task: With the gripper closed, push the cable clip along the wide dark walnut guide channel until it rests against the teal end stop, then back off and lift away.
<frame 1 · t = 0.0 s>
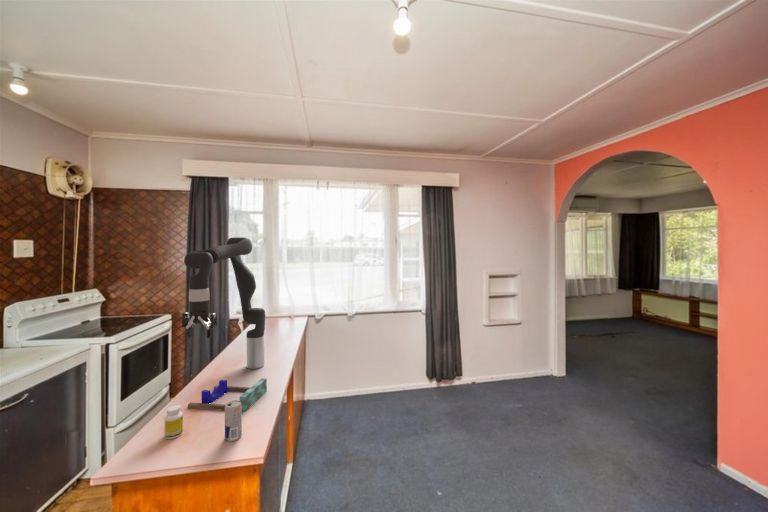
hand: (199, 337, 129), 29 cm above the kitchen counter, tool pointing down, fingers open, 8 cm apart
energy drink: (233, 438, 108), on the kitchen counter
supplement bottle: (173, 435, 109), on the kitchen counter
guide channel: (227, 399, 136), on the kitchen counter
cable clip: (213, 399, 137), on the kitchen counter
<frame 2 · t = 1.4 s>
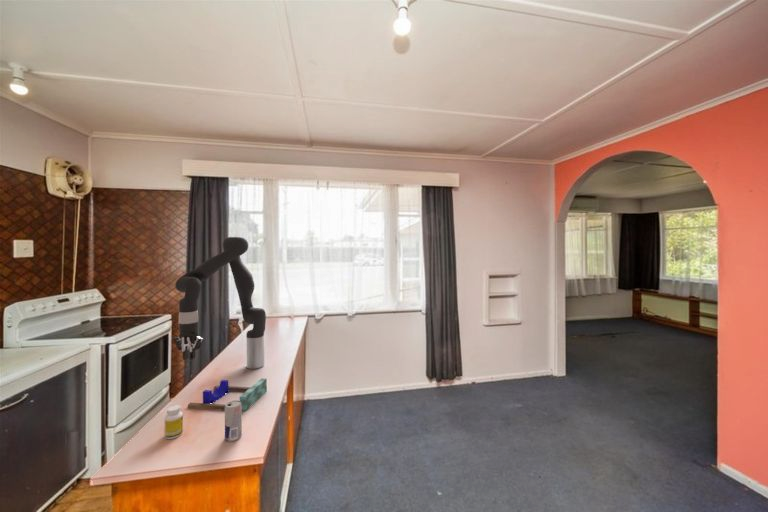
hand: (189, 359, 138), 17 cm above the kitchen counter, tool pointing down, fingers closed
nothing on the kitchen counter moved.
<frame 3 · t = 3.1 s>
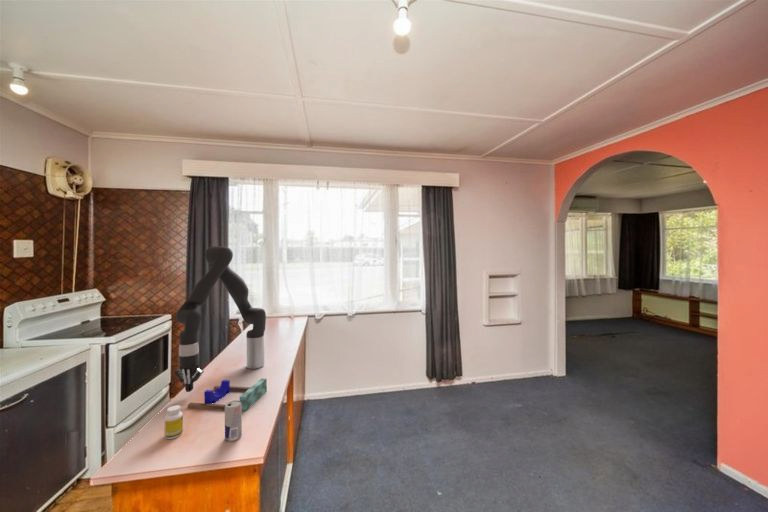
hand: (189, 391, 138), 3 cm above the kitchen counter, tool pointing down, fingers closed
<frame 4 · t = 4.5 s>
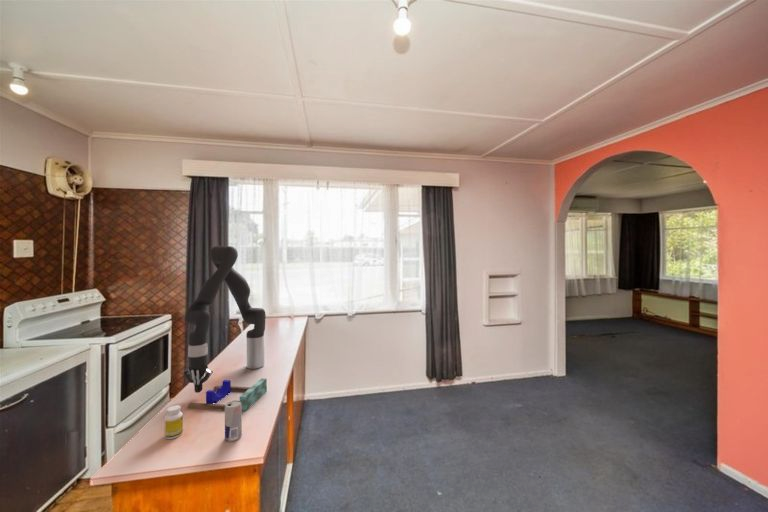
hand: (198, 391, 137), 2 cm above the kitchen counter, tool pointing down, fingers closed
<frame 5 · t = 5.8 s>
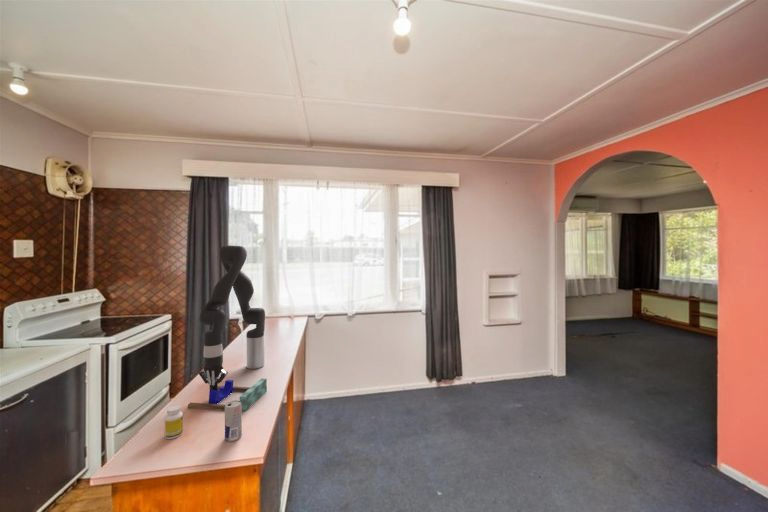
hand: (213, 392, 137), 3 cm above the kitchen counter, tool pointing down, fingers closed
cable clip: (219, 399, 136), on the kitchen counter, touching gripper
everything else where it was.
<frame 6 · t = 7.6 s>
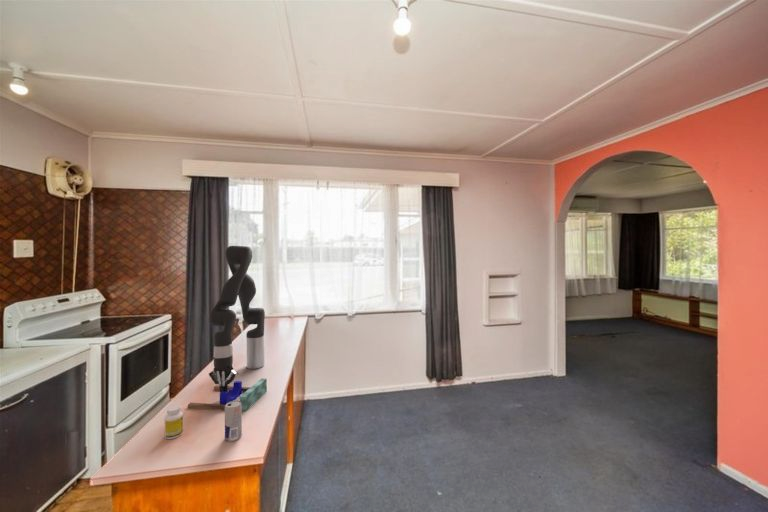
hand: (223, 393, 136), 3 cm above the kitchen counter, tool pointing down, fingers closed
cable clip: (229, 400, 135), on the kitchen counter
everything else where it was.
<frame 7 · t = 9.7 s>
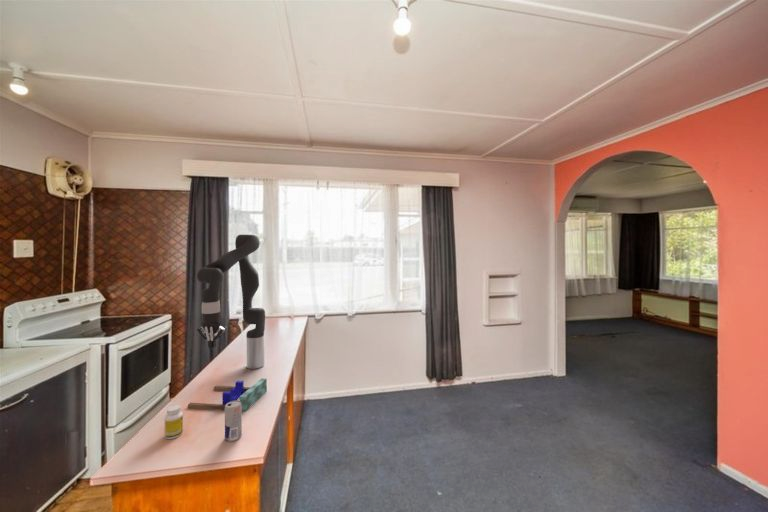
hand: (212, 348, 141), 21 cm above the kitchen counter, tool pointing down, fingers closed
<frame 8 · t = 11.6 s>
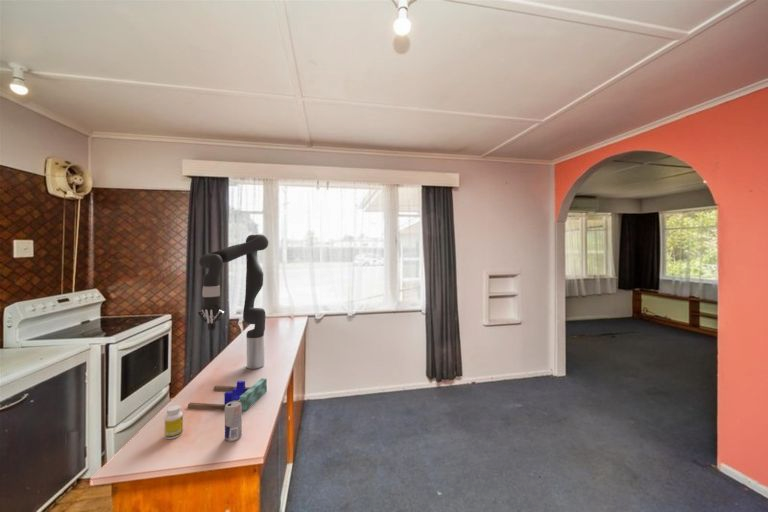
hand: (211, 330, 149), 27 cm above the kitchen counter, tool pointing down, fingers closed
at the end: cable clip inside the target area (2.1 cm from its centre), on the kitchen counter; cable clip tilted 0° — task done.
